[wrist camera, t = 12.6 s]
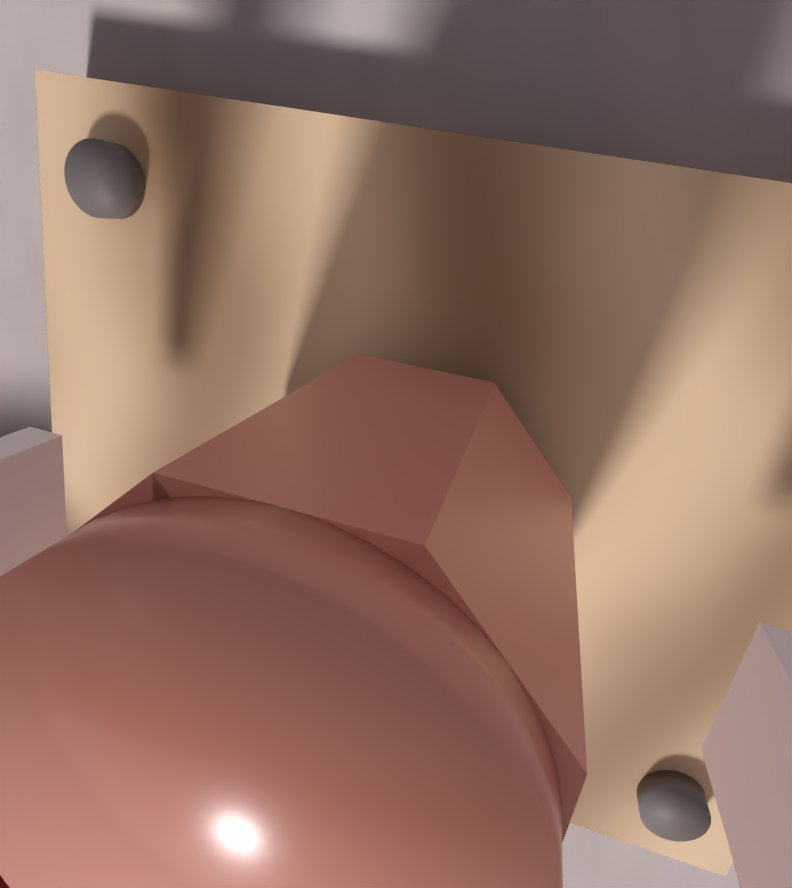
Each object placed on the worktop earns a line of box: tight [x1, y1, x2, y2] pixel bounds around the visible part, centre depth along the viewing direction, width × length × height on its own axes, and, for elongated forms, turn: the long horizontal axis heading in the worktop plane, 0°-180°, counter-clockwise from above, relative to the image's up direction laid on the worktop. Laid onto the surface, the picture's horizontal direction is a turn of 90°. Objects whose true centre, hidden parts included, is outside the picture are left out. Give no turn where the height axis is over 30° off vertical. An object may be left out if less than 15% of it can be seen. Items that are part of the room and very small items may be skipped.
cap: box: [0, 354, 587, 888], centre depth 10 cm, size 7×7×8 cm
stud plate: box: [35, 70, 792, 876], centre depth 12 cm, size 20×16×8 cm
